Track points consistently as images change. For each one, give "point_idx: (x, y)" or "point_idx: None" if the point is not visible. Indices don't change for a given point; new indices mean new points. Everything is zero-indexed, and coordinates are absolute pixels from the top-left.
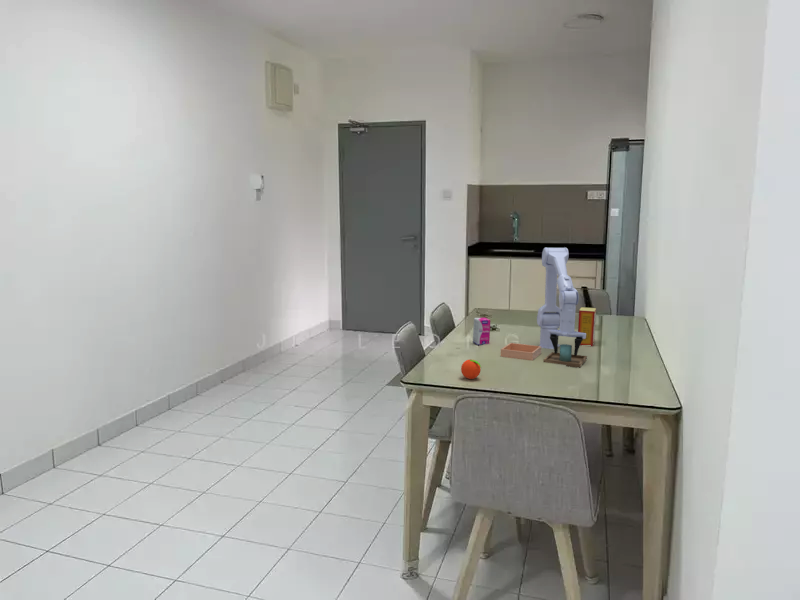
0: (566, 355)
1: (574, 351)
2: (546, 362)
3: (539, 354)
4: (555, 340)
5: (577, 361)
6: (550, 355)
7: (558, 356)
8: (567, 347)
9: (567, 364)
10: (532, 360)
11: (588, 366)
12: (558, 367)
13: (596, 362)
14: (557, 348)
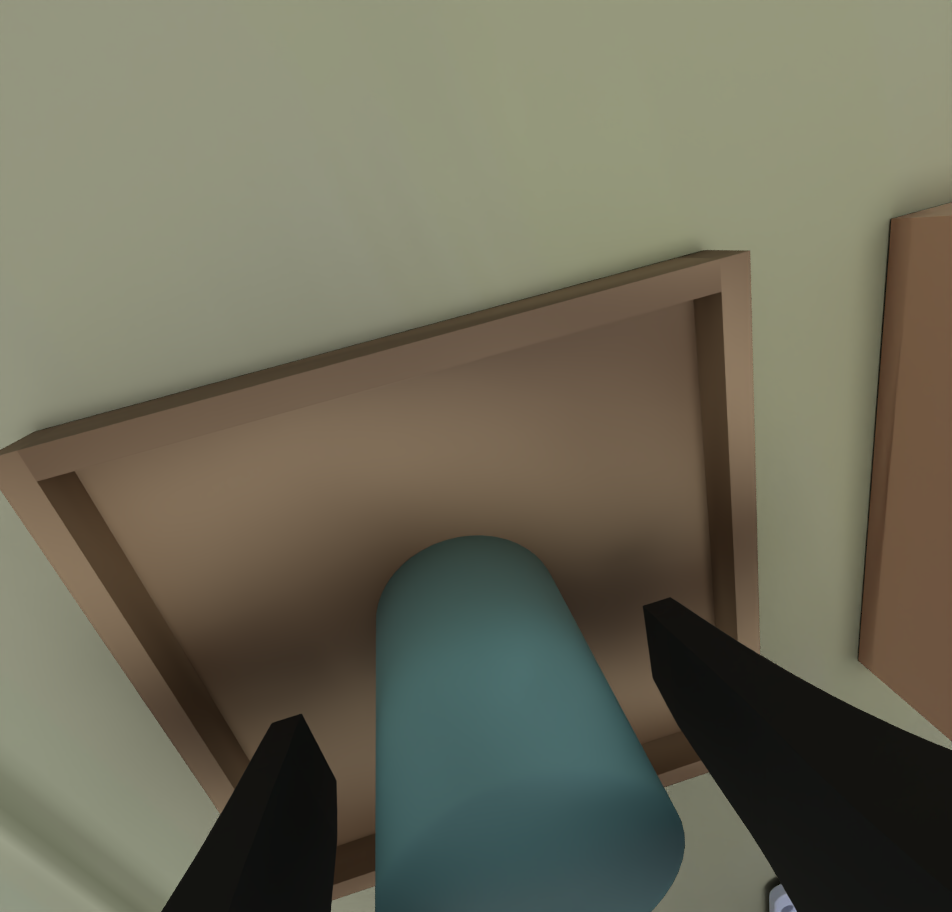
0: (422, 629)
1: (269, 796)
2: (661, 265)
3: (881, 606)
4: (930, 868)
5: (290, 688)
6: (731, 617)
7: (636, 707)
8: (428, 805)
9: (263, 376)
10: (913, 215)
11: (19, 623)
12: (347, 156)
13: (120, 856)
14: (700, 748)
